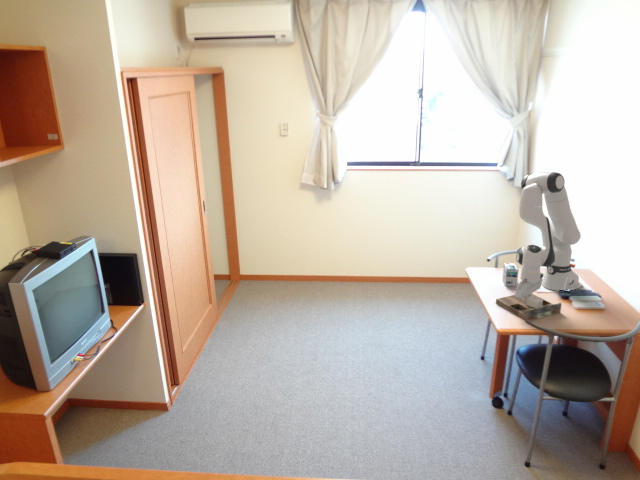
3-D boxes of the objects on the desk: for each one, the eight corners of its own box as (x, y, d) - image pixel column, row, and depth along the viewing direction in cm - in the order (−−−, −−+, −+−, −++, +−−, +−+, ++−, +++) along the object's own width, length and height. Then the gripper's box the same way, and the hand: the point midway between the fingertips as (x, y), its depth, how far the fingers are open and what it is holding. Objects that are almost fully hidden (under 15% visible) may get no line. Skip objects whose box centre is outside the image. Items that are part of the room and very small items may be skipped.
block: (530, 302, 249) (531, 296, 248) (542, 305, 244) (542, 299, 243) (526, 304, 246) (526, 298, 245) (537, 308, 241) (538, 302, 240)
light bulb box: (517, 286, 273) (519, 269, 270) (504, 286, 275) (506, 268, 271) (513, 279, 283) (515, 262, 280) (501, 278, 285) (503, 262, 281)
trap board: (527, 295, 262) (528, 287, 260) (560, 312, 242) (561, 303, 241) (495, 303, 254) (496, 294, 252) (527, 321, 235) (528, 312, 233)
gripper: (525, 284, 235) (522, 309, 239) (545, 273, 247) (542, 297, 251) (513, 280, 239) (510, 304, 244) (533, 269, 251) (530, 293, 256)
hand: (526, 301), depth 247 cm, fingers closed
